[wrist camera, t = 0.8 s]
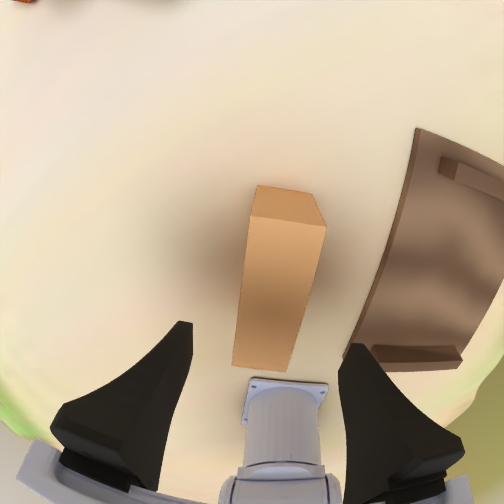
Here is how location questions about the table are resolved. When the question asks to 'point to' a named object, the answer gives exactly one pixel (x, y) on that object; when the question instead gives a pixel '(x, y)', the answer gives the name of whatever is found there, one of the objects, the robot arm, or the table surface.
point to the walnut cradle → (437, 259)
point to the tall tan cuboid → (276, 276)
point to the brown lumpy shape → (23, 1)
